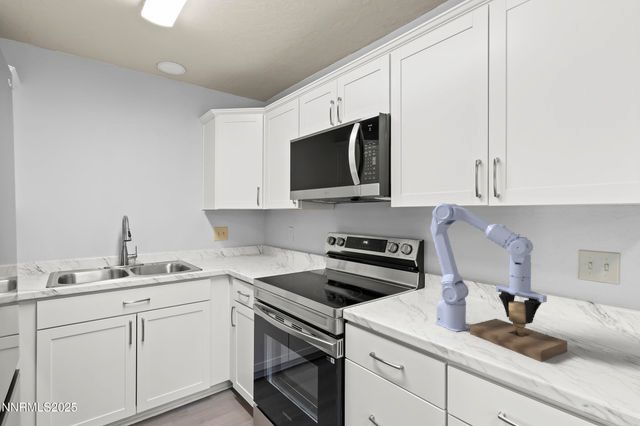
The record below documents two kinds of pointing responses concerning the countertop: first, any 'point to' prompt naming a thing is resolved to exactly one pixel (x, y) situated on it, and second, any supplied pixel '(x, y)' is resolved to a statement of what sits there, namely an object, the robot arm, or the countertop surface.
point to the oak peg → (517, 314)
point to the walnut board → (519, 339)
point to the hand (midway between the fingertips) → (519, 319)
